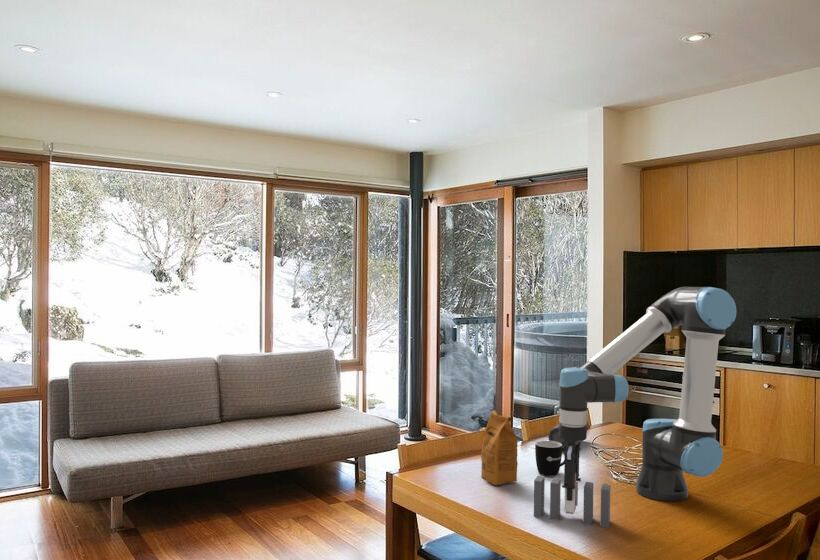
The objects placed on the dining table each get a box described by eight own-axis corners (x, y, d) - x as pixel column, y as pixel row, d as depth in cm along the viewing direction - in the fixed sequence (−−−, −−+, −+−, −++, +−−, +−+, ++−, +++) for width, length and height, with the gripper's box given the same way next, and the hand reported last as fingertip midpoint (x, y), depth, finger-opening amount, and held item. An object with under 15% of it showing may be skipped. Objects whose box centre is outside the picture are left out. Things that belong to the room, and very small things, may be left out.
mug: (543, 478, 214) (544, 448, 214) (529, 470, 222) (530, 441, 222) (574, 475, 218) (575, 445, 218) (559, 467, 227) (560, 439, 226)
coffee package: (503, 473, 219) (504, 408, 219) (520, 484, 208) (521, 416, 207) (476, 475, 216) (477, 410, 216) (492, 487, 204) (493, 418, 204)
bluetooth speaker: (570, 454, 244) (570, 427, 244) (546, 450, 249) (547, 424, 249) (589, 441, 263) (589, 417, 263) (566, 438, 269) (567, 414, 268)
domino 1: (544, 511, 184) (544, 476, 184) (540, 517, 179) (541, 481, 179) (537, 510, 185) (537, 475, 185) (533, 516, 180) (534, 480, 180)
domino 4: (592, 518, 179) (593, 482, 179) (590, 524, 174) (591, 488, 174) (585, 517, 180) (586, 481, 180) (583, 523, 175) (583, 487, 175)
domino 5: (609, 521, 177) (610, 484, 177) (608, 527, 173) (608, 490, 173) (602, 519, 178) (602, 483, 178) (600, 526, 173) (601, 489, 173)
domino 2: (560, 513, 182) (560, 478, 182) (557, 519, 178) (557, 483, 178) (553, 512, 183) (553, 477, 183) (549, 518, 178) (550, 482, 178)
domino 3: (575, 508, 181) (576, 472, 181) (573, 514, 176) (573, 477, 176) (568, 507, 181) (569, 471, 181) (565, 513, 177) (566, 476, 177)
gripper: (563, 416, 188) (562, 496, 188) (553, 429, 172) (551, 516, 172) (590, 419, 186) (588, 499, 186) (582, 432, 169) (580, 521, 169)
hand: (571, 507), depth 179 cm, fingers closed on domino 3, 5 cm apart
